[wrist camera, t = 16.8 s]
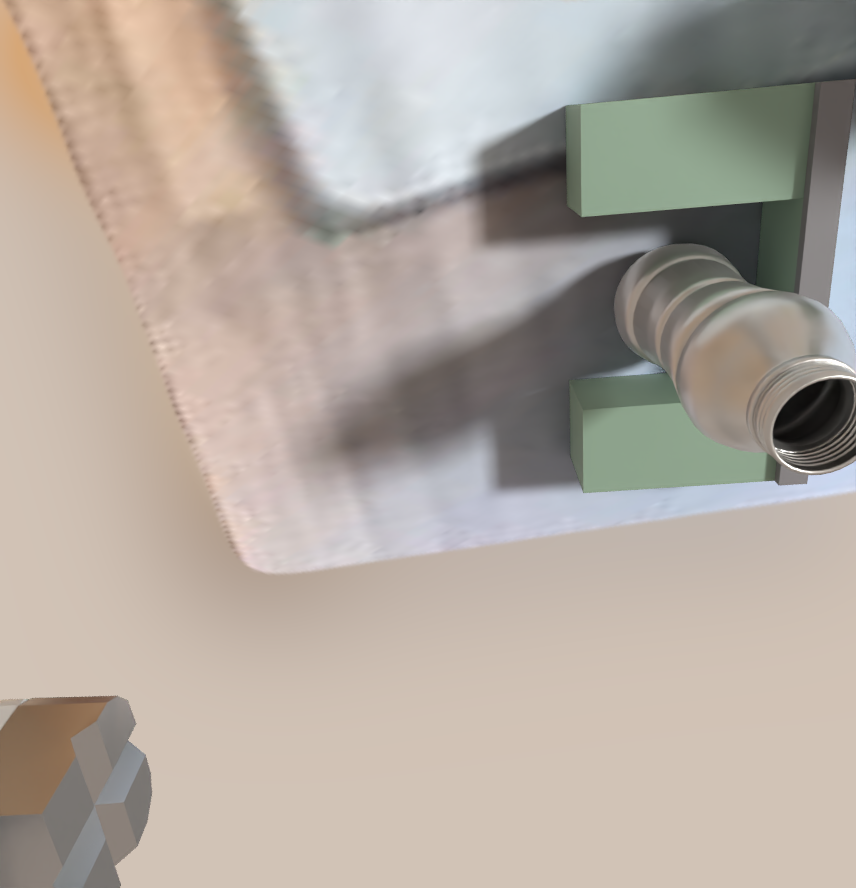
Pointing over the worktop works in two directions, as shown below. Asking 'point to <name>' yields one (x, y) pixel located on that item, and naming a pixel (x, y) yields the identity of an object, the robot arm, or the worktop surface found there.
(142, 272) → the worktop surface
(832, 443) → the plastic bottle
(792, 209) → the green u-shaped bracket
